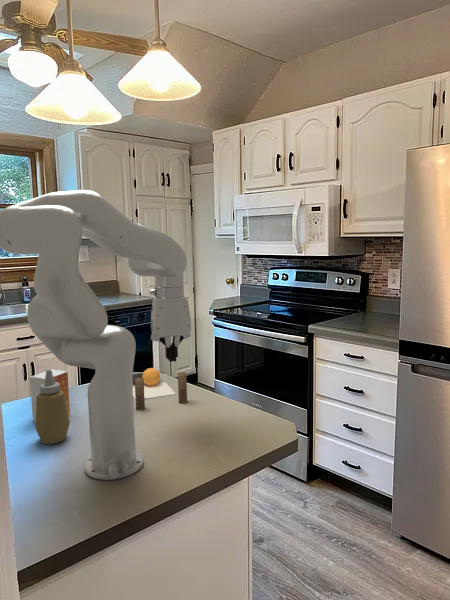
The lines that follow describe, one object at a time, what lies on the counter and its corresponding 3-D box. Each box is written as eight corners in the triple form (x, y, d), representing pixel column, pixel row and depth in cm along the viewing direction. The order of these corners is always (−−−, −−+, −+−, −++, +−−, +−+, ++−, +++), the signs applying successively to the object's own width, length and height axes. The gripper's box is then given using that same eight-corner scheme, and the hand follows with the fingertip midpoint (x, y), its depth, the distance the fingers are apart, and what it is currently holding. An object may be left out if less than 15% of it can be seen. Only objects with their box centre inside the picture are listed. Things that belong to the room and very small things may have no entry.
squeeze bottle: (43, 450, 110) (37, 377, 108) (31, 439, 116) (26, 370, 114) (75, 440, 116) (71, 370, 113) (63, 430, 122) (58, 364, 119)
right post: (188, 402, 140) (187, 374, 139) (180, 404, 139) (179, 375, 138) (185, 399, 143) (184, 371, 141) (177, 401, 142) (176, 372, 140)
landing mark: (175, 394, 148) (175, 393, 148) (135, 400, 143) (135, 399, 143) (165, 382, 160) (165, 382, 160) (127, 387, 155) (127, 387, 155)
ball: (160, 387, 159) (162, 379, 154) (143, 390, 156) (145, 382, 152) (157, 371, 162) (159, 363, 157) (140, 374, 160) (141, 366, 155)
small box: (49, 425, 125) (46, 379, 123) (32, 422, 127) (28, 376, 126) (70, 415, 132) (68, 371, 130) (54, 411, 135) (51, 368, 133)
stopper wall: (159, 381, 162) (159, 371, 161) (130, 385, 158) (130, 375, 157) (158, 379, 163) (158, 370, 163) (130, 383, 159) (129, 373, 159)
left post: (145, 409, 135) (144, 379, 134) (136, 410, 134) (135, 380, 133) (143, 406, 138) (142, 377, 136) (135, 407, 137) (133, 378, 135)
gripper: (144, 296, 115) (147, 367, 118) (201, 292, 121) (202, 360, 123) (138, 293, 122) (141, 360, 125) (192, 289, 128) (193, 354, 130)
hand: (171, 360), depth 124 cm, fingers closed
